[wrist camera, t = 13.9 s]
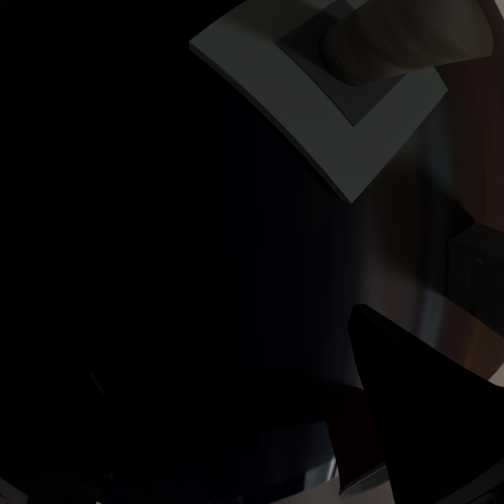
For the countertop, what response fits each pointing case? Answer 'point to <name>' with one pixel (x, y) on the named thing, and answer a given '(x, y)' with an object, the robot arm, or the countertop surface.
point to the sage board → (316, 88)
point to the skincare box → (478, 274)
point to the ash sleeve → (403, 38)
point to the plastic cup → (355, 443)
